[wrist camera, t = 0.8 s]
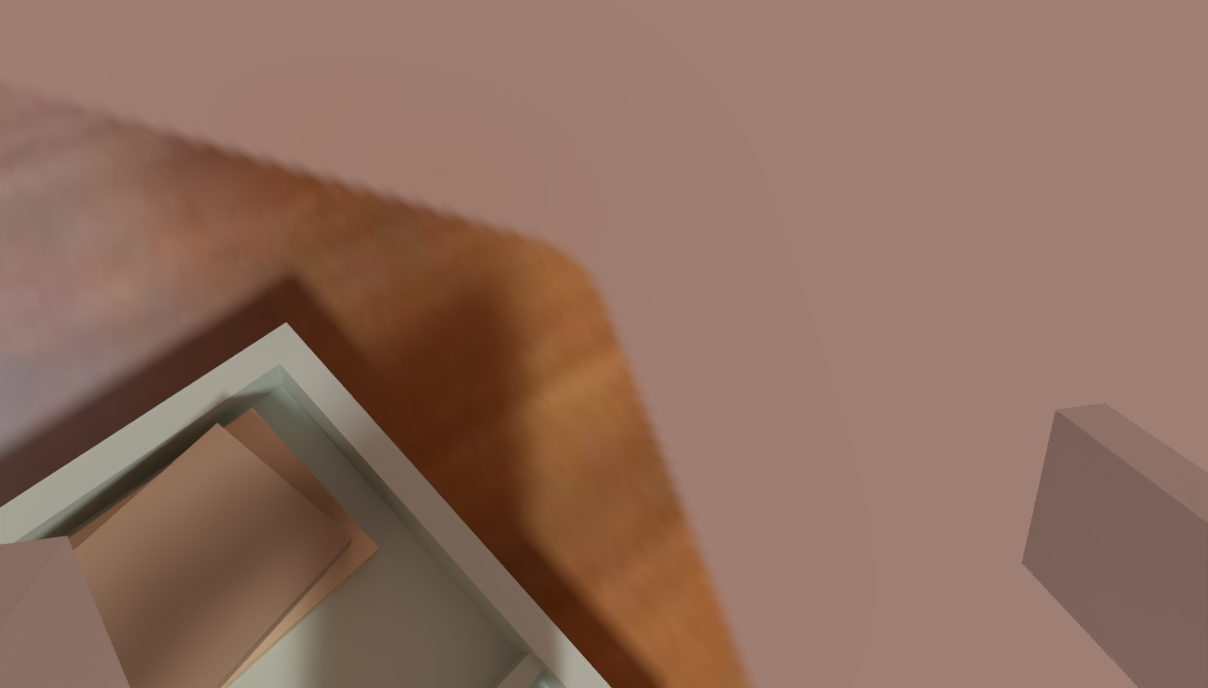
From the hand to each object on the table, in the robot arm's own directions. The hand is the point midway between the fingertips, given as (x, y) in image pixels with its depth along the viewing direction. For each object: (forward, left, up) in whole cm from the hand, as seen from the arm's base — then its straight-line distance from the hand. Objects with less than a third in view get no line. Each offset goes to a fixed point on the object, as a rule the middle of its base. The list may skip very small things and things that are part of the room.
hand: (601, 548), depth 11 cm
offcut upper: (-6, -5, -20) cm, 22 cm away
